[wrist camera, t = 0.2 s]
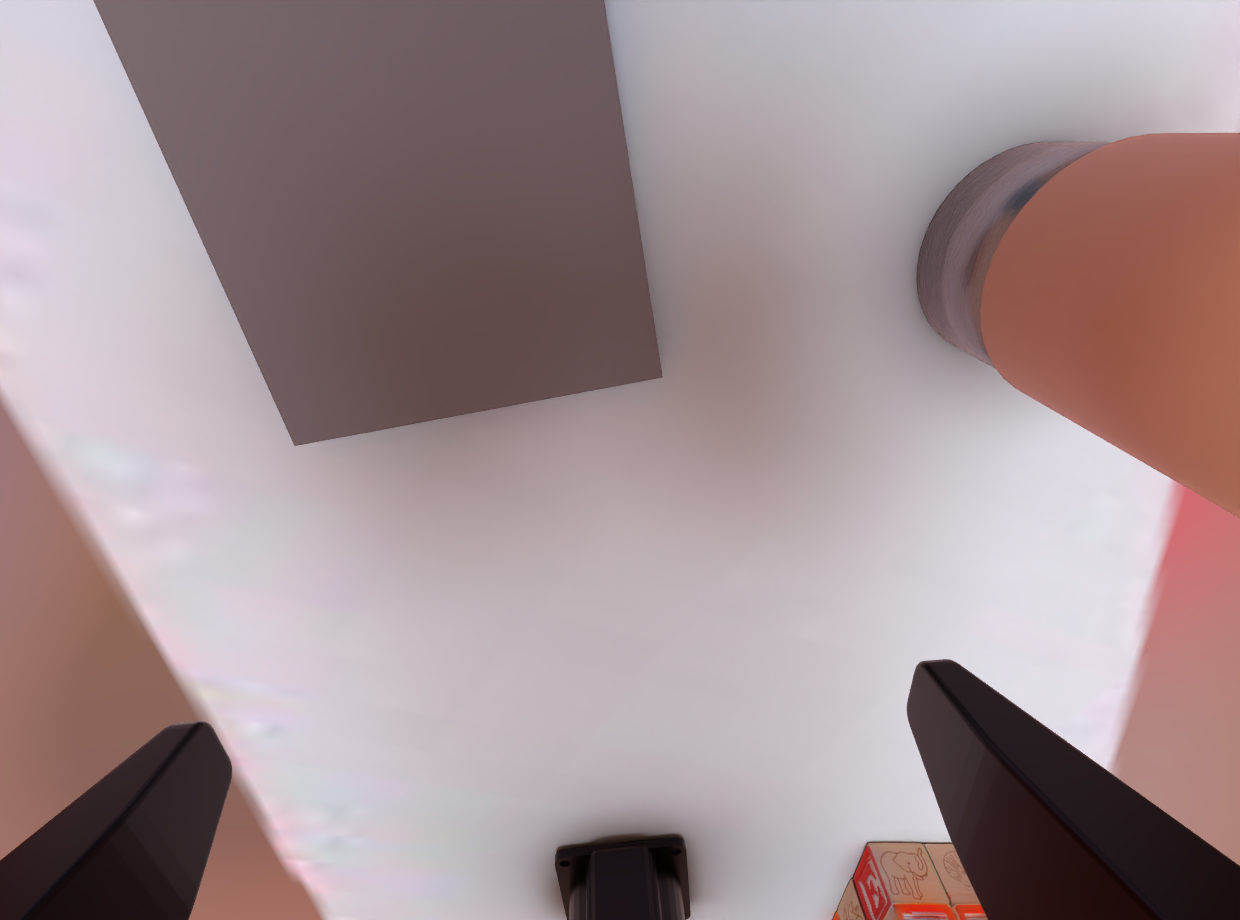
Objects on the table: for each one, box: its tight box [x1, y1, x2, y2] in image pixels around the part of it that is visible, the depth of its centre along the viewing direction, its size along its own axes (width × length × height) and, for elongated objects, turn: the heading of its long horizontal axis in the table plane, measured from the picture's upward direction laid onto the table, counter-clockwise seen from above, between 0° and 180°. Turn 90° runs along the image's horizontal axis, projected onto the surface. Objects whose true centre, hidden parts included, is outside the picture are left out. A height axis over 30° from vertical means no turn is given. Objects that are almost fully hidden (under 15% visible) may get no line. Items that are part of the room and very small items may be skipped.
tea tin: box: [917, 142, 1112, 369], centre depth 18 cm, size 6×6×4 cm
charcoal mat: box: [94, 0, 662, 446], centre depth 18 cm, size 12×12×1 cm
